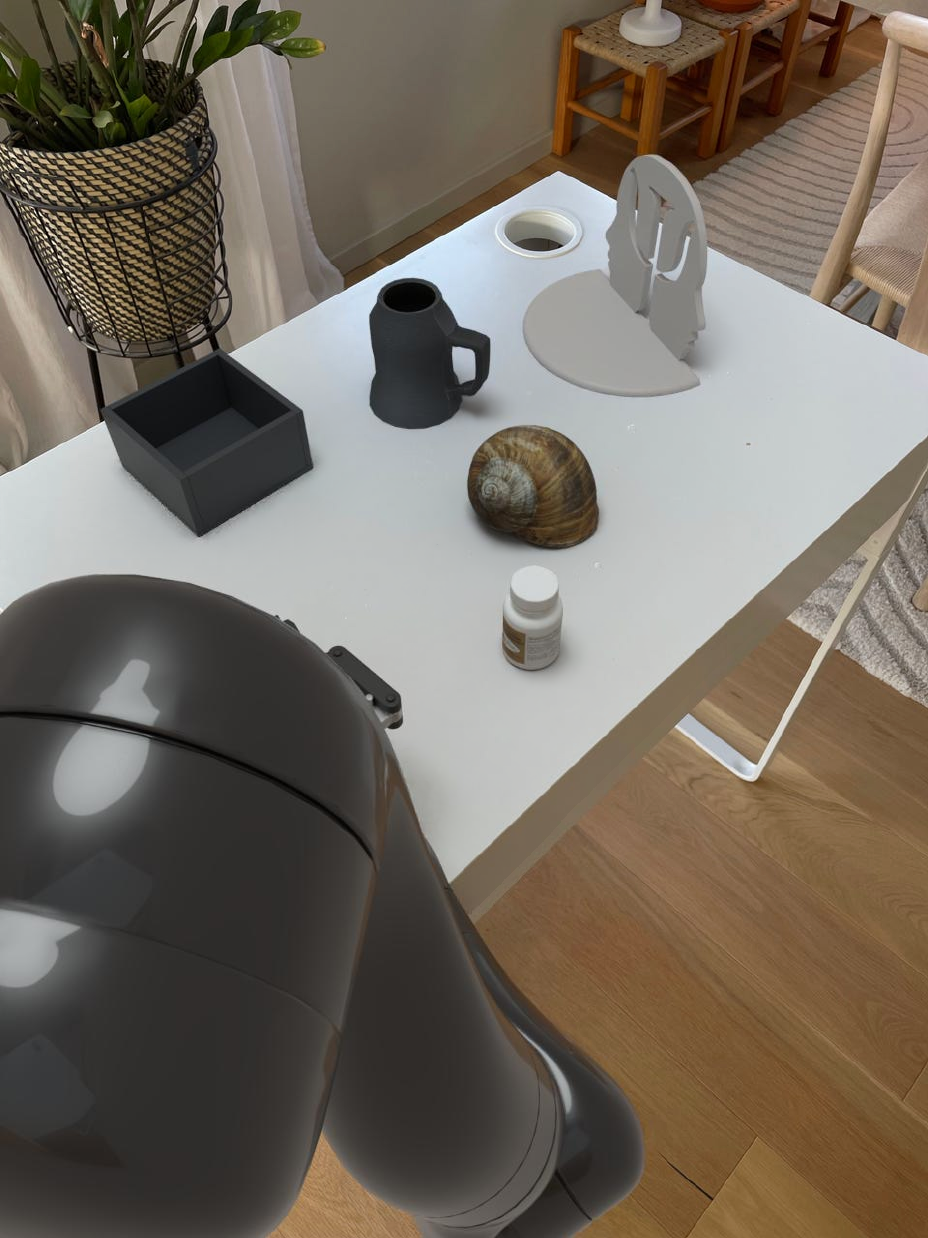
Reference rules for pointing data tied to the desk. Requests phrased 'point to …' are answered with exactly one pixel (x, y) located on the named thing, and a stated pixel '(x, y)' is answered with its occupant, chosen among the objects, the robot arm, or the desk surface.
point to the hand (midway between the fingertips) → (234, 642)
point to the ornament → (630, 296)
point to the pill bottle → (532, 618)
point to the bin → (209, 440)
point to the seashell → (534, 486)
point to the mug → (420, 356)
